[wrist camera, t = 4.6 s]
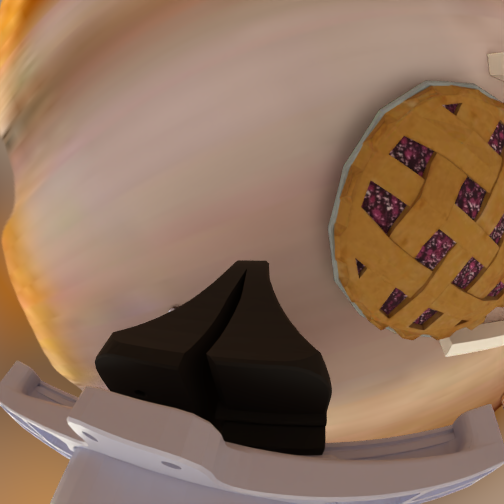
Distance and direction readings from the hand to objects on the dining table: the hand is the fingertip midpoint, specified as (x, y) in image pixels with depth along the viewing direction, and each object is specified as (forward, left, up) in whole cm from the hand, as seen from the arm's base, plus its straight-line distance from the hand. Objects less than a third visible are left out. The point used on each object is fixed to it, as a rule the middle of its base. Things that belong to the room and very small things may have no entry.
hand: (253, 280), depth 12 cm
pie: (-1, -15, -11) cm, 18 cm away
